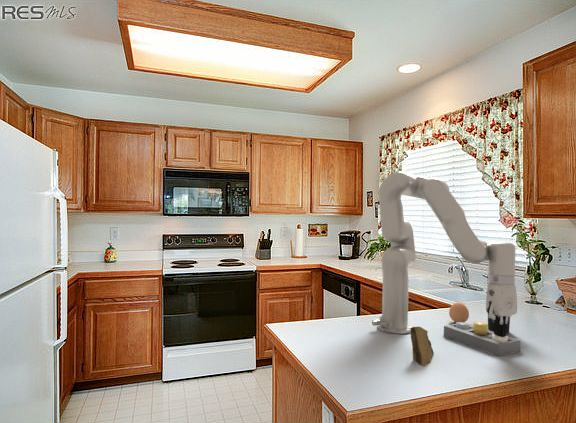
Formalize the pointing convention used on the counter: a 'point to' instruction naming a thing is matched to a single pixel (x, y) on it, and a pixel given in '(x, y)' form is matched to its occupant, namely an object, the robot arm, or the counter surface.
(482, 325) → the mustard button
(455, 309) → the egg
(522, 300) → the counter surface
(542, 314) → the counter surface
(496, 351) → the button console
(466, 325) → the slate button
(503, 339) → the ivory button
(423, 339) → the rock
